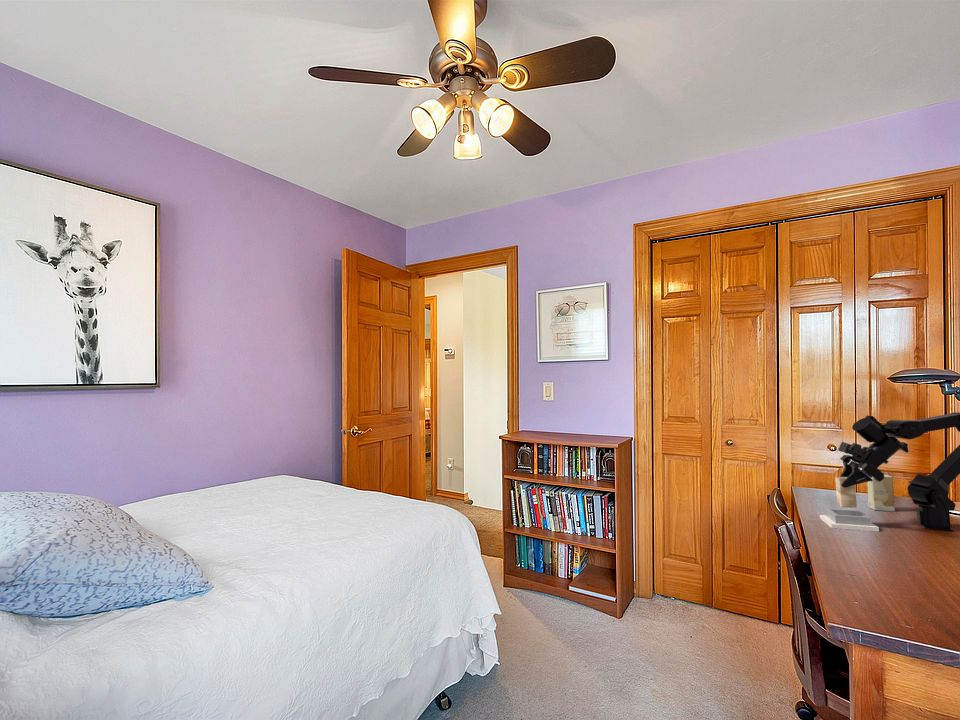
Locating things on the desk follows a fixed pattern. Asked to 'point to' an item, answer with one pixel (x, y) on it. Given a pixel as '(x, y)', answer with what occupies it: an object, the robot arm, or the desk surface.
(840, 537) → the desk surface
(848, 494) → the block
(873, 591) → the desk surface
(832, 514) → the square tray
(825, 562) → the desk surface
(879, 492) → the skincare box
